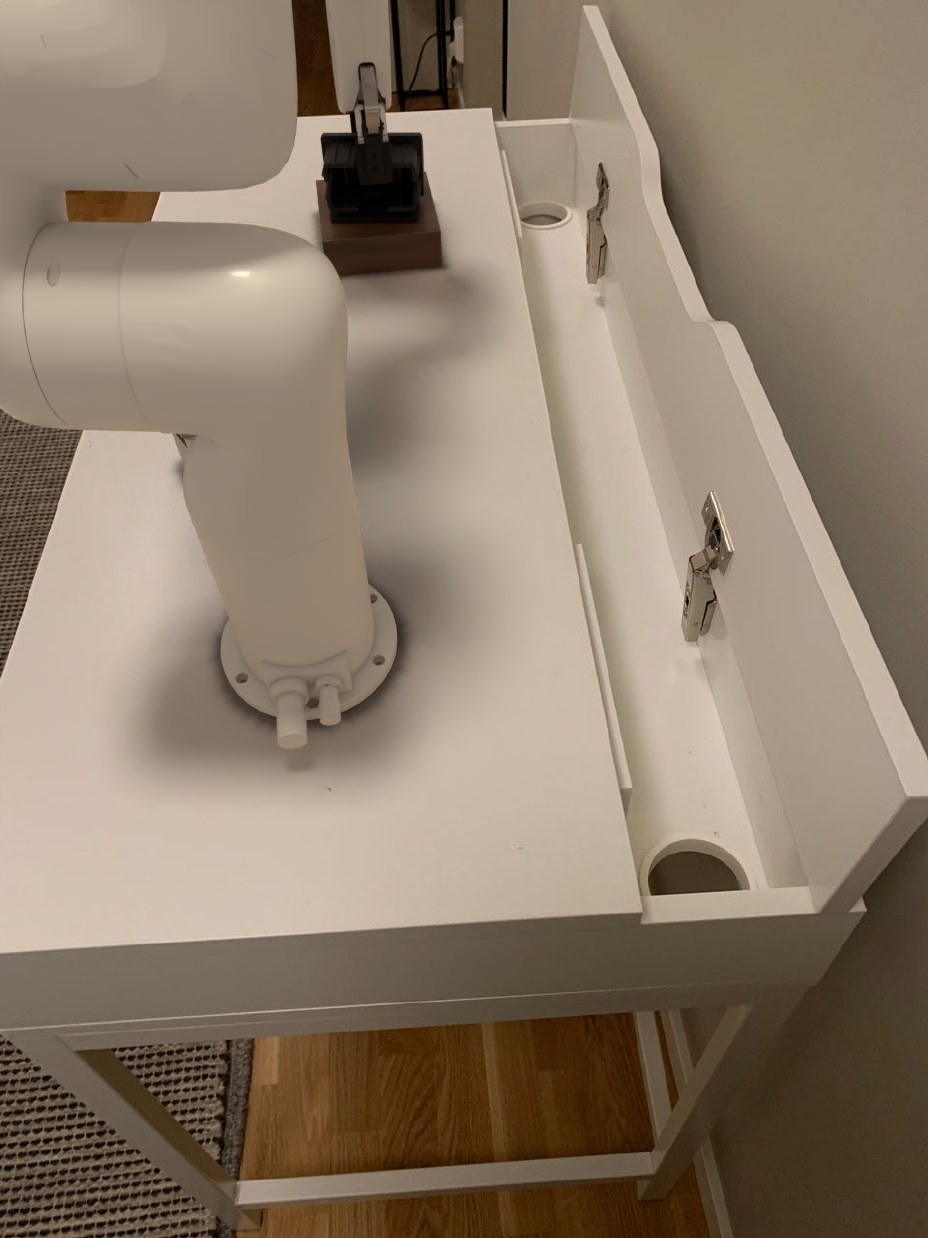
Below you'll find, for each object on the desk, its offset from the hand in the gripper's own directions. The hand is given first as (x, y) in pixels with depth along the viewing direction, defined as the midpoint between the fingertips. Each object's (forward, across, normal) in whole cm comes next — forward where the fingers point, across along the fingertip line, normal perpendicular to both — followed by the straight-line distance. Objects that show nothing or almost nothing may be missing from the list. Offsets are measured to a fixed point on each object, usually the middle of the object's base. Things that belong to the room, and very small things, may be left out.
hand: (371, 158), depth 87 cm
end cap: (+5, 0, 0) cm, 5 cm away
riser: (+9, 0, 0) cm, 9 cm away
